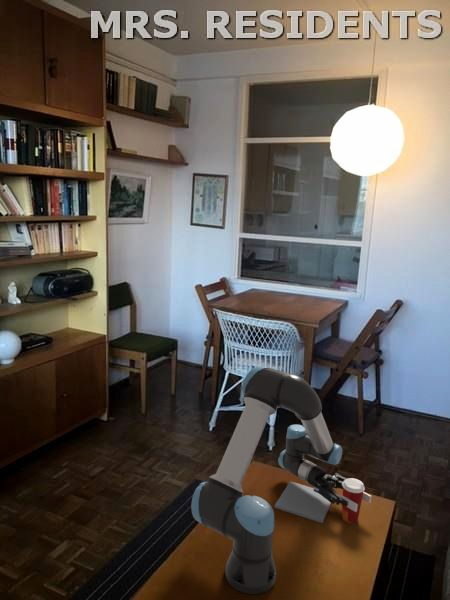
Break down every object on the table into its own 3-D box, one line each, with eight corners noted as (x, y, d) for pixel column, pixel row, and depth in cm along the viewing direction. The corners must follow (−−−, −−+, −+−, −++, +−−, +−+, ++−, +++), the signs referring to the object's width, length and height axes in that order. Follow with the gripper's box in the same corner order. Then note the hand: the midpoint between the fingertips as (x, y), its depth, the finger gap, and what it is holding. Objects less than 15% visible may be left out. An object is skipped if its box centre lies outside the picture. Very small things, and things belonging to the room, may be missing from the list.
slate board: (322, 523, 173) (322, 520, 173) (274, 507, 180) (274, 505, 180) (334, 496, 189) (334, 494, 189) (289, 483, 196) (289, 481, 196)
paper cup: (363, 516, 178) (367, 482, 175) (356, 528, 171) (361, 492, 168) (342, 508, 182) (346, 474, 179) (335, 519, 175) (339, 484, 172)
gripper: (328, 474, 195) (378, 502, 178) (294, 492, 182) (345, 524, 165) (330, 457, 194) (381, 484, 177) (295, 474, 181) (347, 504, 164)
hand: (363, 503), depth 171 cm, fingers closed on paper cup, 8 cm apart
